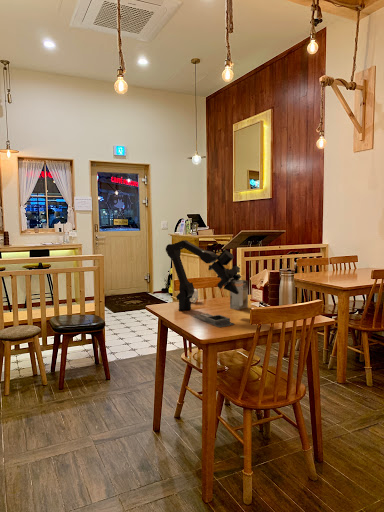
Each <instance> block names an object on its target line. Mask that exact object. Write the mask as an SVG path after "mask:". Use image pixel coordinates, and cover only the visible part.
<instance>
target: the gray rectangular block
mask: <svg viewBox="0 0 384 512" xmlns="http://www.w3.org/2000/svg"><path fill="white" fill-rule="evenodd" d="M240 280H241V279H239V280H234V281H233V285H234V287H235V288H236V290H237V291H238V294H235V293H233V292H232V306H242V305H243V281H240Z"/></svg>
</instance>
